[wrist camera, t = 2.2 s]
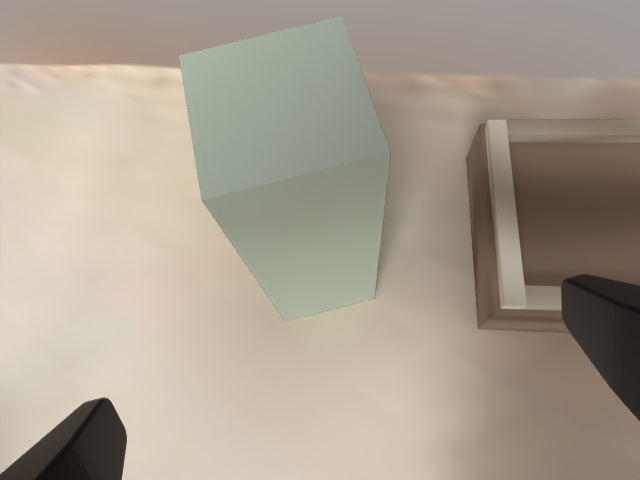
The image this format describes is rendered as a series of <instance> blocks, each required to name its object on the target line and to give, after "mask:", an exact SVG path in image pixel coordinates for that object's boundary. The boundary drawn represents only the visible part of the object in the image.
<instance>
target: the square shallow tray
mask: <svg viewBox="0 0 640 480" xmlns="http://www.w3.org/2000/svg"><path fill="white" fill-rule="evenodd" d="M466 160H467V174H468V189H469V203H470V218H471V233H472V247H473V262H474V276H475V291H476V305H477V320H478V329H496V330H519V331H543V332H567V333H570V332H569V330H568V329H567V327H566V326H565V324H564V322H563V319H562V309H561V284H562V281H563V280H564V279H565V278H568V277H572V276H576V275H580V274H589V275H593V276H598V277H603V278H607V279H612V280H617V281H621V282H626V283H631V284H635V285H640V120H488V121H487V123H486V124H480V125H479V128H478V130H477V133H476V135H475V138H474V141H473V143H472V146H471V148H470V151H469V153H468V156H467V159H466Z"/></svg>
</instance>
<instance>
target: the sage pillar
mask: <svg viewBox="0 0 640 480" xmlns="http://www.w3.org/2000/svg"><path fill="white" fill-rule="evenodd" d="M179 59H180V65H181V72H182V78H183V85H184V91H185V97H186V104H187V110H188V116H189V123H190V129H191V136H192V142H193V148H194V155H195V161H196V167H197V174H198V180H199V187H200V193H201V199H202V201H203V203H204V204H205V206H206V207H207V209H208V210H209V212H210V213H211V215H212V216H213V217H214V219H215V220H216V222H217V223H218V225H219V226H220V228H221V229H222V231H223V232H224V234H225V235H226V237H227V238H228V239H229V241H230V242H231V244H232V245H233V247H234V248H235V250H236V251H237V253H238V254H239V256H240V257H241V259H242V260H243V261H244V263H245V264H246V266H247V267H248V269H249V270H250V272H251V273H252V275H253V276H254V278H255V279H256V281H257V282H258V283H259V285H260V286H261V288H262V289H263V291H264V292H265V294H266V295H267V297H268V298H269V300H270V301H271V303H272V304H273V306H274V307H275V308H276V310H277V311H278V313H279V314H280V316H281V317H282V319H283V320H284V322H285V321H289V320H293V319H297V318H300V317H304V316H308V315H312V314H316V313H320V312H324V311H328V310H332V309H336V308H339V307H343V306H347V305H351V304H355V303H359V302H363V301H367V300H371V299H374V298H375V289H376V280H377V271H378V262H379V253H380V244H381V235H382V226H383V217H384V209H385V200H386V191H387V182H388V173H389V164H390V155H391V152H390V149H389V146H388V143H387V141H386V138H385V135H384V132H383V129H382V127H381V124H380V121H379V118H378V116H377V113H376V110H375V107H374V104H373V102H372V99H371V96H370V93H369V90H368V88H367V85H366V82H365V79H364V76H363V74H362V71H361V68H360V65H359V62H358V60H357V57H356V54H355V51H354V49H353V46H352V43H351V40H350V37H349V35H348V32H347V29H346V26H345V24H344V21H343V18H342V16H340V17H336V18H331V19H327V20H323V21H319V22H315V23H311V24H307V25H303V26H299V27H294V28H290V29H287V30H282V31H278V32H274V33H270V34H266V35H262V36H257V37H253V38H250V39H246V40H241V41H237V42H234V43H229V44H225V45H221V46H217V47H212V48H208V49H205V50H200V51H196V52H192V53H188V54H184V55H180V56H179Z"/></svg>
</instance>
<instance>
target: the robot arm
mask: <svg viewBox="0 0 640 480" xmlns="http://www.w3.org/2000/svg"><path fill="white" fill-rule="evenodd" d="M561 309H562V319H563V322H564V324H565V326H566V327H567V329H568V330H569V332H570V333H571V335H572V336H573V337H574V339H575V340H576V341H577V343H578V344H579V346H580V347H581V348H582V350H583V351H584V352H585V354H586V355H587V357H588V358H589V359H590V361H591V362H592V364H593V365H594V366H595V368H596V369H597V370H598V372H599V373H600V375H601V376H602V377H603V379H604V380H605V381H606V383H607V384H608V385H609V387H610V388H611V389H612V390H613V391H614V393H615V394H616V395H617V396H618V397H619V398H620V400H621V401H622V402H623V403H624V404H625V405H626V406H627V408H628V409H629V410H630V411H631V412H632V413H633V414H634V415H635V416H636V418H637V419H638V420H639V421H640V285H635V284H631V283H626V282H621V281H617V280H612V279H607V278H603V277H598V276H593V275H589V274H580V275H576V276H572V277H568V278H565V279H564V280H563V281H562V284H561ZM126 444H127V435H126V430H125V427H124V425H123V423H122V421H121V419H120V418H119V416H118V414H117V412H116V410H115V408H114V406H113V404H112V402H111V401H110V400H109V399H108V398H105V397H104V398H99V399H95V400H91V401H88V402H85V403H83V404H82V405H81V406H80V407H78V408H77V409H76V410H75V411H74V412H73V413H71V414H70V415H69V416H68V417H67V418H65V419H64V420H63V421H62V422H61V423H60V424H58V425H57V426H56V427H55V428H54V429H53V430H51V431H50V432H49V433H48V434H47V435H46V436H44V437H43V438H42V439H41V440H40V441H39V442H37V443H36V444H35V445H34V446H33V447H32V448H30V449H29V450H28V451H27V452H26V453H25V454H23V455H22V456H21V457H20V458H19V459H18V460H16V461H15V462H14V463H13V464H12V465H11V466H9V467H8V468H7V469H6V470H5V471H4V472H2V473H1V474H0V480H122V474H123V466H124V459H125V451H126Z"/></svg>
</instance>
